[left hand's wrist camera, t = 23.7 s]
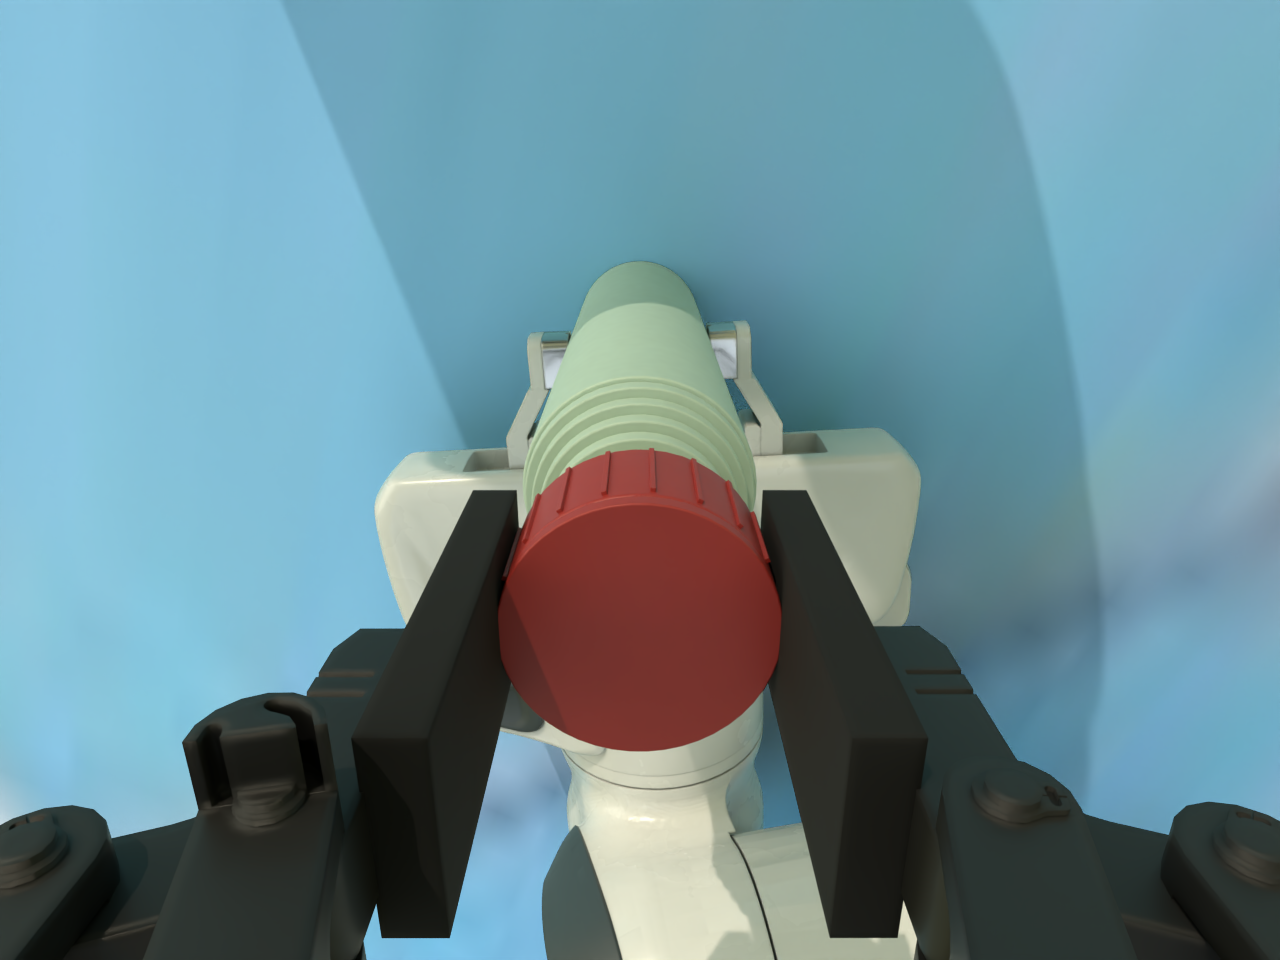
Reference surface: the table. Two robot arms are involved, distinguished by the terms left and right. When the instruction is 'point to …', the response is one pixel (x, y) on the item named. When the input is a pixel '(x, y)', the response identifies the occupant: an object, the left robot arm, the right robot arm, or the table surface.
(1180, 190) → the table surface
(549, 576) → the cap
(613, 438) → the bottle
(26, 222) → the table surface
